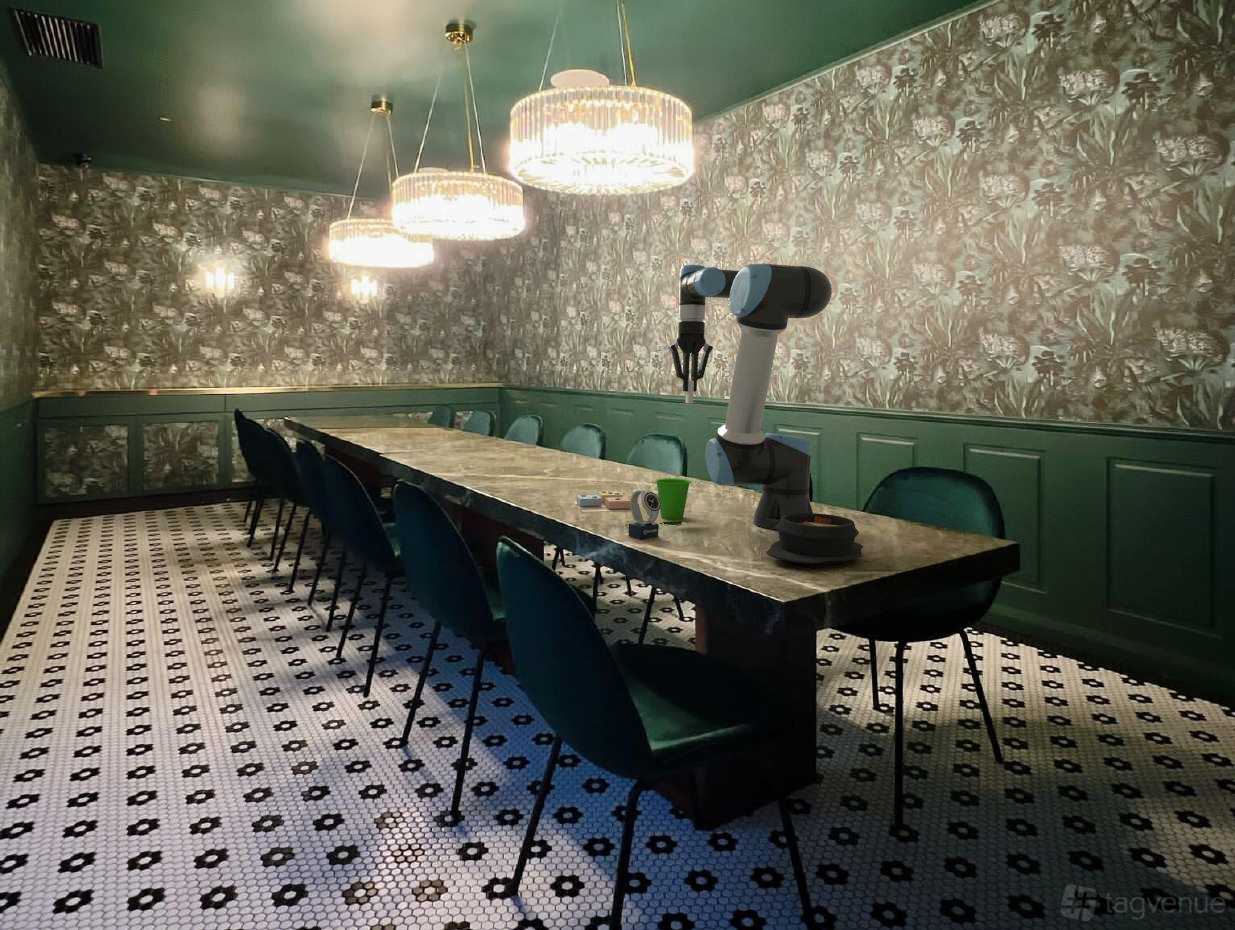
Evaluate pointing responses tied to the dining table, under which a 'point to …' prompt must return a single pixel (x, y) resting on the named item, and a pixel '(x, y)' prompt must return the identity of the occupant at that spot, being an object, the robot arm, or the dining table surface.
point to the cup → (672, 498)
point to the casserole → (816, 539)
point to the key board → (597, 508)
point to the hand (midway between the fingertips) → (689, 403)
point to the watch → (641, 527)
